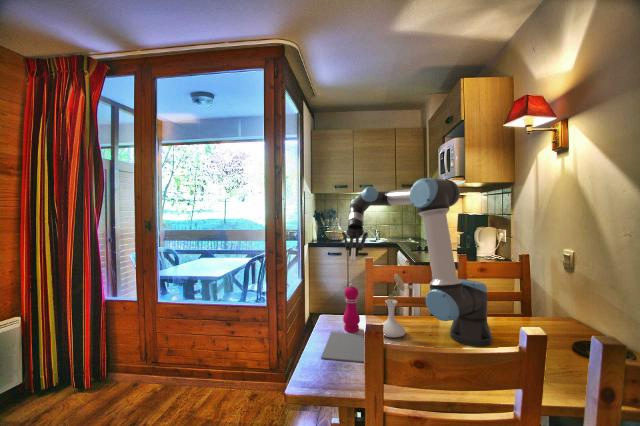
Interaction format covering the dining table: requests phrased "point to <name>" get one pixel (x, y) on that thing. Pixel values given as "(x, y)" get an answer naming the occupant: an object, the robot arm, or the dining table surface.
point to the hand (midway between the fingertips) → (352, 261)
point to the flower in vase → (391, 324)
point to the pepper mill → (351, 310)
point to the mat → (344, 347)
